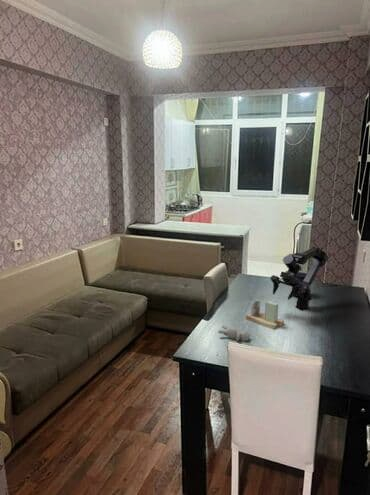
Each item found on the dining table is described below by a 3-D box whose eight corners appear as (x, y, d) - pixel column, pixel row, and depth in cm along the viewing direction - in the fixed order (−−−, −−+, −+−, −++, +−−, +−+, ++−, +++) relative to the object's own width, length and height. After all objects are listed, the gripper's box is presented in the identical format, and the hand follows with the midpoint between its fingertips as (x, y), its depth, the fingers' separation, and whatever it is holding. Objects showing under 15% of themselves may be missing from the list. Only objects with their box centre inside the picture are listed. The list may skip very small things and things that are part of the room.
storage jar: (308, 295, 240) (310, 273, 237) (304, 299, 232) (306, 277, 228) (293, 292, 245) (295, 271, 242) (289, 296, 237) (291, 275, 234)
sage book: (268, 317, 198) (269, 300, 196) (277, 321, 194) (278, 303, 192) (264, 319, 196) (265, 302, 194) (274, 322, 192) (275, 305, 190)
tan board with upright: (256, 314, 208) (257, 297, 206) (283, 323, 195) (284, 306, 193) (245, 318, 201) (246, 302, 199) (273, 329, 189) (274, 311, 186)
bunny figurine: (247, 337, 171) (218, 327, 177) (245, 346, 173) (216, 337, 178) (252, 329, 180) (224, 320, 185) (250, 338, 181) (222, 329, 187)
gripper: (273, 261, 203) (261, 285, 199) (304, 270, 191) (292, 295, 187) (279, 271, 211) (267, 293, 207) (309, 280, 199) (297, 304, 195)
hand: (280, 296), depth 199 cm, fingers open, 9 cm apart
